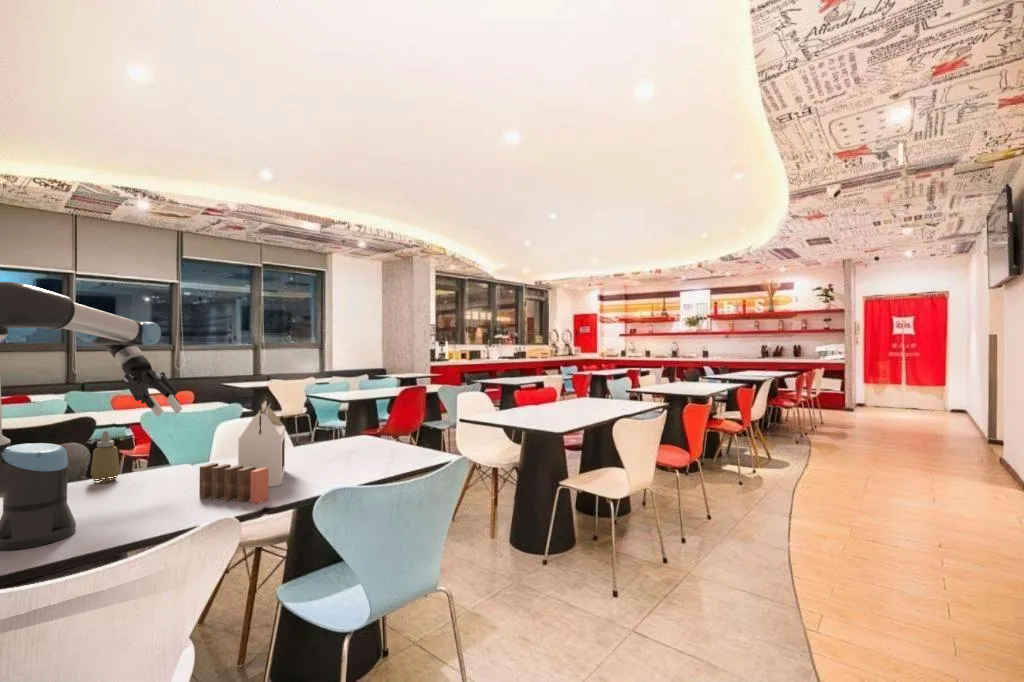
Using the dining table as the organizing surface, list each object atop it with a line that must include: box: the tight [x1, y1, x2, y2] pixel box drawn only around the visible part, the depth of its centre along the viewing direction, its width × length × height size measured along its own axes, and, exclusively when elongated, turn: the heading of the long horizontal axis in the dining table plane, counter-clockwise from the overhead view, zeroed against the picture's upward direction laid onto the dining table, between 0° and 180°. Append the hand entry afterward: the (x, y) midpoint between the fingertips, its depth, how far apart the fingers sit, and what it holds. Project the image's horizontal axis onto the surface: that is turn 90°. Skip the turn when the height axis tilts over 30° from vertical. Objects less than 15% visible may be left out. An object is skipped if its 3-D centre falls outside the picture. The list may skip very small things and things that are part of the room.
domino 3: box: [223, 464, 243, 502], centre depth 155 cm, size 2×5×10 cm, turn 164°
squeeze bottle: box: [90, 430, 121, 484], centre depth 174 cm, size 8×8×18 cm
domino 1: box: [198, 462, 219, 499], centre depth 158 cm, size 2×5×10 cm, turn 164°
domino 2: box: [211, 463, 232, 500], centre depth 157 cm, size 2×5×10 cm, turn 164°
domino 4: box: [236, 466, 256, 503], centre depth 154 cm, size 2×5×10 cm, turn 164°
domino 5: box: [249, 467, 269, 504], centre depth 153 cm, size 2×5×10 cm, turn 164°
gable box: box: [237, 400, 286, 488], centre depth 177 cm, size 22×13×28 cm, turn 22°
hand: (169, 412), depth 163 cm, fingers open, 6 cm apart
